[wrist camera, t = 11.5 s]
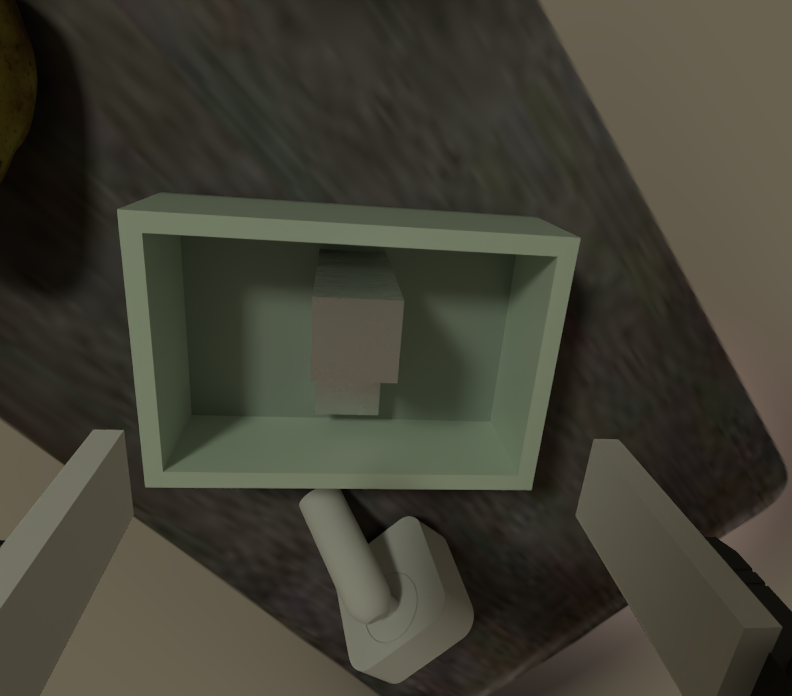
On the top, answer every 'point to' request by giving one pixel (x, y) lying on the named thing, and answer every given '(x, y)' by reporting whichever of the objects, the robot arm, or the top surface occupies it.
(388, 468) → the open box
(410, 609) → the wall hook
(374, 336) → the grey l-shaped block
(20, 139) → the potato
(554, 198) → the top surface
